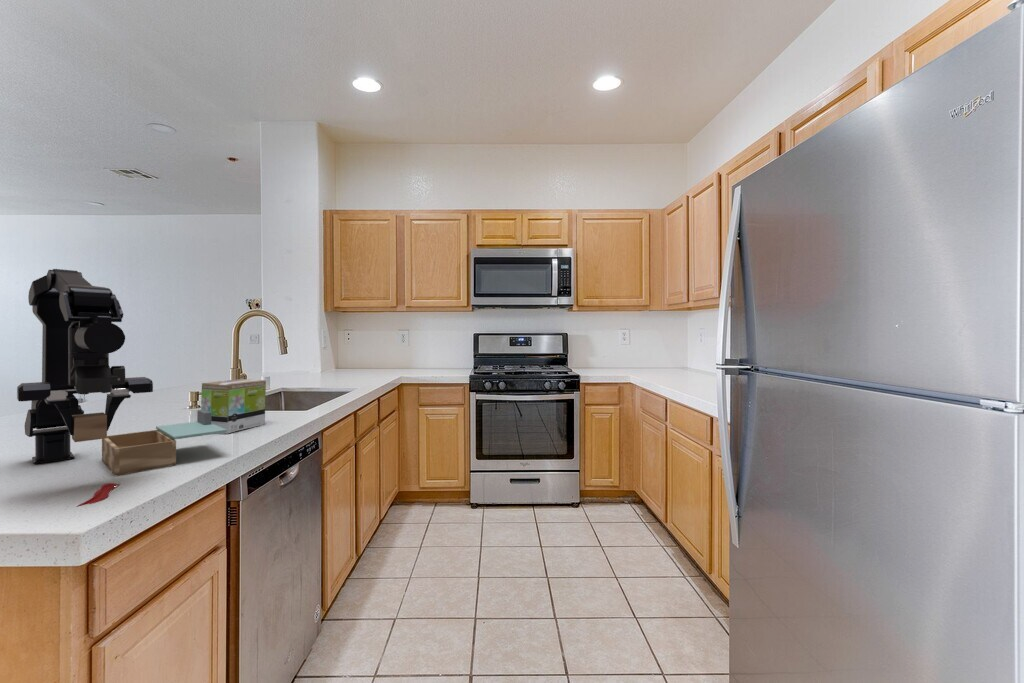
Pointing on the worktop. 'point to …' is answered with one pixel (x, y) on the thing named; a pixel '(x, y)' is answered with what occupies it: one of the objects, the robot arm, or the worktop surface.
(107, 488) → the cayenne pepper
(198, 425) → the lid
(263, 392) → the tea box
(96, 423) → the walnut block
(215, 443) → the worktop surface
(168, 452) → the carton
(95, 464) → the worktop surface
